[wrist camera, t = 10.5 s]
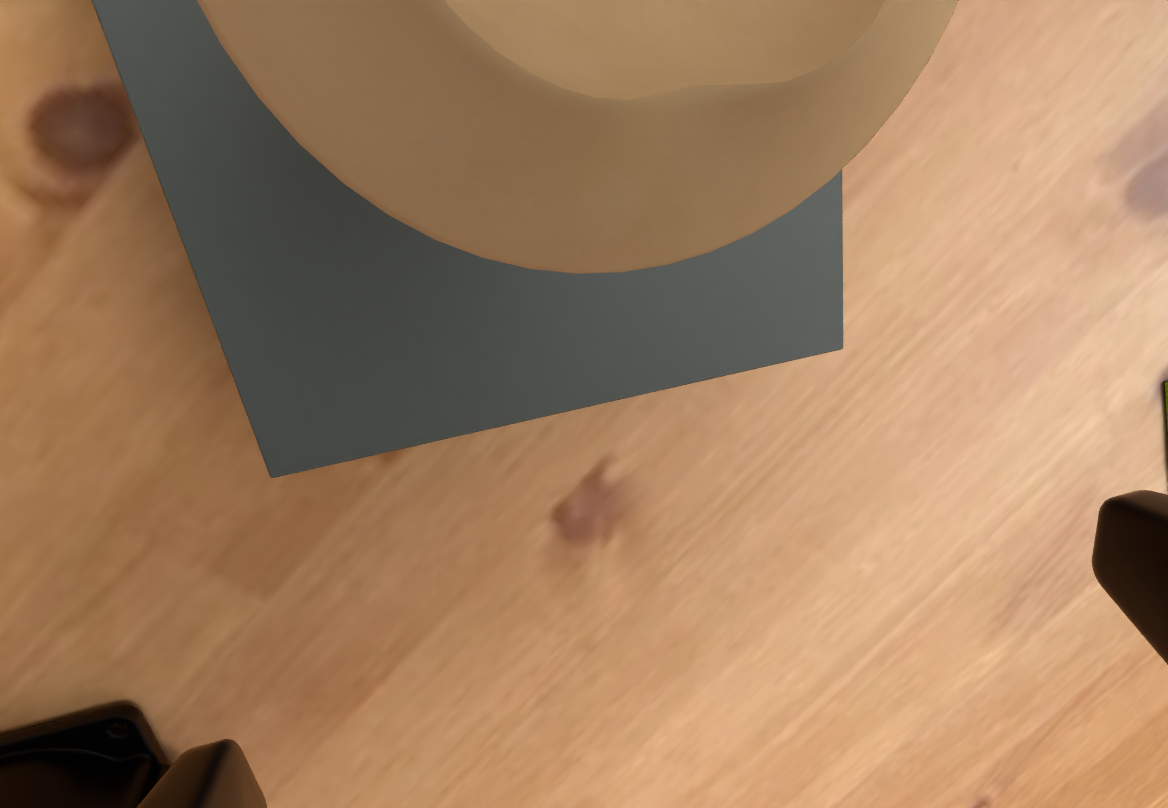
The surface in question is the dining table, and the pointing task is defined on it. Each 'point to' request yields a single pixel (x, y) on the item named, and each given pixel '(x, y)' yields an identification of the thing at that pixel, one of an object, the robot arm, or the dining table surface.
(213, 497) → the dining table surface
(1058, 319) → the dining table surface
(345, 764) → the dining table surface
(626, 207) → the candle
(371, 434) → the shelf
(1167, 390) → the cloth
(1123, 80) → the dining table surface
